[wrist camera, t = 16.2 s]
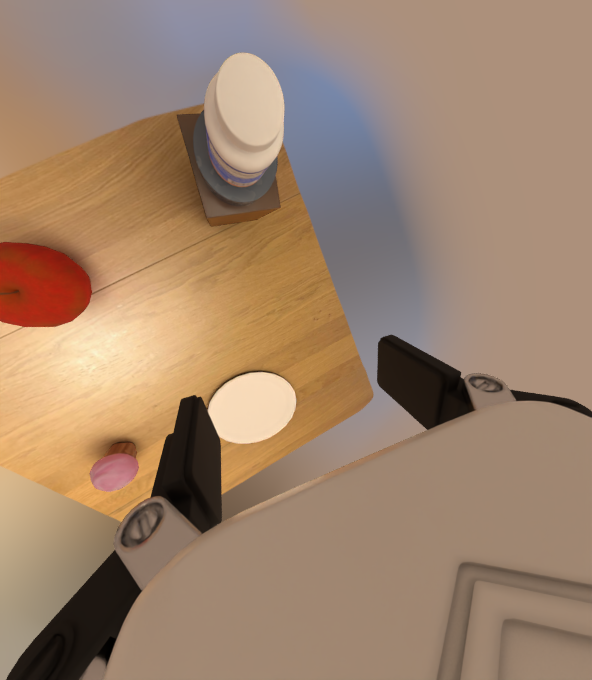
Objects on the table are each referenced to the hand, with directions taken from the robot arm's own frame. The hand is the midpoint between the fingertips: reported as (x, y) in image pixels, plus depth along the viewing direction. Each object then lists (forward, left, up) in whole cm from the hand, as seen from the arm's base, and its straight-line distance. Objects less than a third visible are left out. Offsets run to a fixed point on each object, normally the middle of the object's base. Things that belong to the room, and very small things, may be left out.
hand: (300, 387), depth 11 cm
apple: (-5, -29, -42) cm, 52 cm away
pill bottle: (-14, +2, -18) cm, 23 cm away
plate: (+37, -5, -42) cm, 57 cm away
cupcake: (+36, -38, -42) cm, 67 cm away
